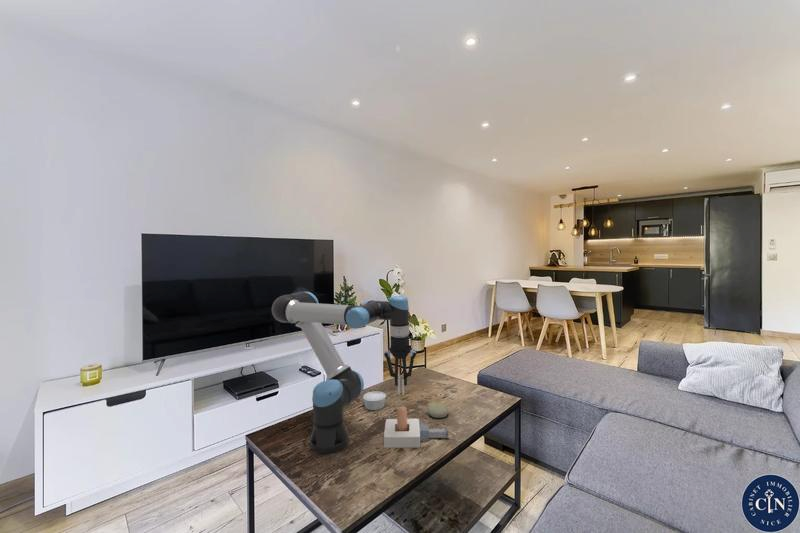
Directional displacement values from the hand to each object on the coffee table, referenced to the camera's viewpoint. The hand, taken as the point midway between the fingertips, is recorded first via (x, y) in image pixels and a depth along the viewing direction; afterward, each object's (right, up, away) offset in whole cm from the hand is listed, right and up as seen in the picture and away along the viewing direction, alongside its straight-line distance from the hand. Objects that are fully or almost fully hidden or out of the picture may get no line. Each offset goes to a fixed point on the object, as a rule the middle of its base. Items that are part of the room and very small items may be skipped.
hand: (401, 393), depth 137 cm
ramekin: (-13, -18, +29) cm, 37 cm away
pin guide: (+9, -18, +1) cm, 20 cm away
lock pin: (+13, -18, +1) cm, 22 cm away
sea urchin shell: (+17, -17, +19) cm, 31 cm away
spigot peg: (+1, -18, +1) cm, 18 cm away
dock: (0, -18, +1) cm, 18 cm away
